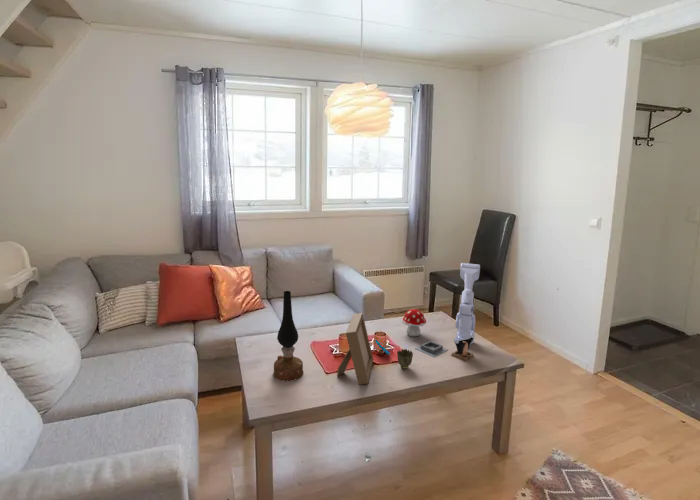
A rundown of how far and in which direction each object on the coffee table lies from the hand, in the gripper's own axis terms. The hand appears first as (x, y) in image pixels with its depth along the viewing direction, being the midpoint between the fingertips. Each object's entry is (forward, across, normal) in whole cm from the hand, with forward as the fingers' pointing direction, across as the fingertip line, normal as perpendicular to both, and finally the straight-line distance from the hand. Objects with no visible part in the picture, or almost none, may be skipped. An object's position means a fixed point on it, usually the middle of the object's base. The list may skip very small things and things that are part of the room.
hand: (462, 352), depth 210 cm
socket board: (+3, +6, -14) cm, 16 cm away
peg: (+2, 0, 0) cm, 2 cm away
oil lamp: (+3, +74, -44) cm, 86 cm away
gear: (+3, +27, -30) cm, 40 cm away
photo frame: (+3, +50, -26) cm, 56 cm away
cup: (+3, +30, -12) cm, 33 cm away
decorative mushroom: (+3, -3, -34) cm, 34 cm away
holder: (+3, 0, 0) cm, 3 cm away
